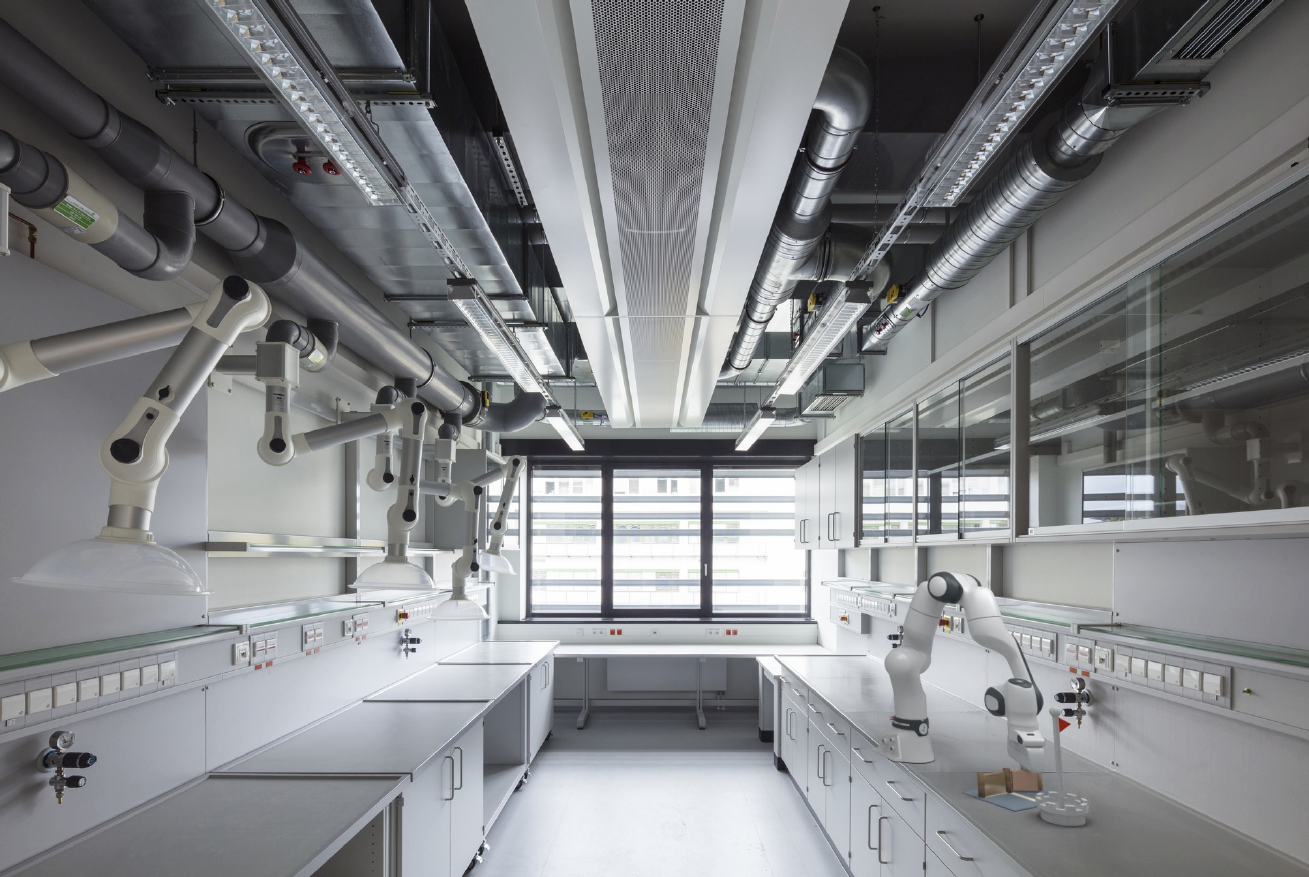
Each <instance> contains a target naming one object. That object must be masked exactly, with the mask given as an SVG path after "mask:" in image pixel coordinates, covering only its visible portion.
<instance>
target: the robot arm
mask: <svg viewBox="0 0 1309 877" xmlns="http://www.w3.org/2000/svg"><path fill="white" fill-rule="evenodd" d="M947 604H950V605H959V606H961V608H962V609H963V610H964V613H965V617H966V622H967V628H968V632H969V634H970V636H971V638H972V640H974V641H975V642H976V643H977V645H980V646H982V647H984V648H986V649H988V650H992V651H994V652H996V653H998V654H1000V655H1001V656H1003V657H1004V659H1006V661H1007V663H1008V665H1009V666H1008V667H1009V669H1010V671H1011V673H1012V675H1013V677H1011V678H1009V679H1007V680H1006V681H1005V682H1004V683H1001V684H998V685H992V686H989V687H988V688H986V691H985V693H984V699H983V700H984V701H983V702H984V705H985V706H984V707H985V708H986V710H987V711H988V712H989V713H990V714H991V715H992V716H994V717H999V718H1006V720H1007V722H1006V727H1007V747H1006V748H1007V755H1008V756H1009V757H1010V758H1011V760H1014V761H1016V762H1017V763H1018V764H1019V768H1020V770H1024V771H1030V772H1031V773H1037V774H1043V773H1044V772H1045V769H1046V768H1045V766H1046V764H1045V761H1046V759H1045V758H1046V757H1045V750H1044V747H1045V746H1046V741H1045V738H1044V737H1043V736H1042V734H1041V731H1040V730H1039V729H1040V727H1039V722H1038V718H1037V716H1039V714H1040V713H1041V711H1042V709H1044V705H1045V704H1044V697H1043V694H1042V692H1041V691H1040V689H1039V687H1038V685H1037V684H1036V682H1035V679H1034V677H1033V675H1032V672H1031V670H1030V668H1029V665H1028V663H1027V660H1026V658H1025V655H1024V652H1023V650H1022V647H1021V646H1020V644H1019V641H1018V639H1017V638H1016V637H1015V636H1014V635H1013V634H1011V633H1010V632H1009V630H1008V629H1007V627H1006V625H1005V622H1004V621H1003V617H1002V613H1001V610H1000V606H999V603H998V601H997V599H996V596H995V595H994V592H993V591H992V590H991V589H990V588H988V587H986V586H982V584H981V581H980V580H979V579H978V578H976V577H975V576H973V575H972V574H968V573H963V572H958V571H938V572H935V573H933V574H932V575H931V576H930V577H929V579H928V580H926V581H925V580H924V581H922V582H920V584H918V587H917V589H916V590H915V592H914V593H913V596H912V599H911V601H910V604H909V607H908V608H907V609H908V610H907V613H906V616H905V618H904V621H903V626H902V628H903V637H902V642H901V644H900V646H898V647H895V648H893V649H891V650H890V651H889V653H887V655H886V656H885V658H884V663H883V664H884V668H885V671H886V672H887V674H888V676H889V680H890V682H891V687H892V688H891V689H892V692H893V702H894V703H893V704H894V716H889V721H891V725H890V726H889V727H888V728H887V729H886V730H884V731H882V733H880V735H879V739H878V746H875V747H872V753H875V754H877V755H880V756H881V757H883V758H885V759H887V760H890V761H892V762H897V763H898V762H901V763H903V762H904V763H912V764H913V763H915V764H916V763H917V764H922V763H924V764H926V763H932V762H933V761H934V760H935V753H934V751H933V748H932V741H931V736H930V735H931V734H930V732H929V729H930V721H929V717H928V706H927V705H928V704H927V694H926V692H925V691H924V689H923V688H924V687H923V686H922V685H923V684H922V681H921V675H922V674H924V673H926V671H927V670H929V668H930V665H931V664H932V652H933V646H934V640H935V639H934V638H935V635H936V631H937V630H938V629H937V628H938V626H939V622H940V620H941V617H942V614H943V610H944V608H945V606H946V605H947Z"/></svg>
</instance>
